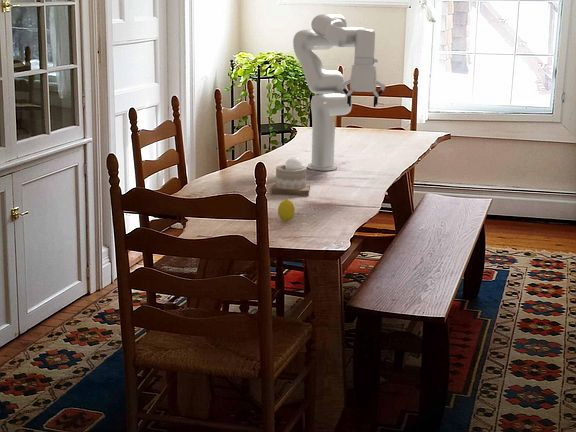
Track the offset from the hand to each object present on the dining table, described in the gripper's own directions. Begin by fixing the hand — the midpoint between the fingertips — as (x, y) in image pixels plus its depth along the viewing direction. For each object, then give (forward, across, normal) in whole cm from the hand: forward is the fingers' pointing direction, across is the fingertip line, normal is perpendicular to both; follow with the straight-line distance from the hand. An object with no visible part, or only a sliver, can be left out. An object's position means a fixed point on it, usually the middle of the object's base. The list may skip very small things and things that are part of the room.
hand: (362, 106), depth 361 cm
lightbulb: (+28, +28, +19) cm, 44 cm away
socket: (+30, +26, +19) cm, 44 cm away
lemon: (+31, +25, +64) cm, 75 cm away
